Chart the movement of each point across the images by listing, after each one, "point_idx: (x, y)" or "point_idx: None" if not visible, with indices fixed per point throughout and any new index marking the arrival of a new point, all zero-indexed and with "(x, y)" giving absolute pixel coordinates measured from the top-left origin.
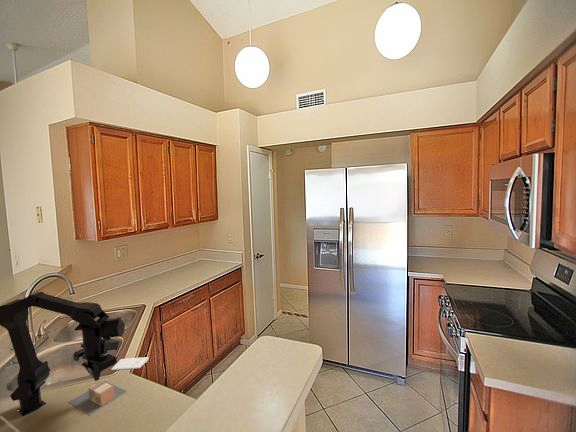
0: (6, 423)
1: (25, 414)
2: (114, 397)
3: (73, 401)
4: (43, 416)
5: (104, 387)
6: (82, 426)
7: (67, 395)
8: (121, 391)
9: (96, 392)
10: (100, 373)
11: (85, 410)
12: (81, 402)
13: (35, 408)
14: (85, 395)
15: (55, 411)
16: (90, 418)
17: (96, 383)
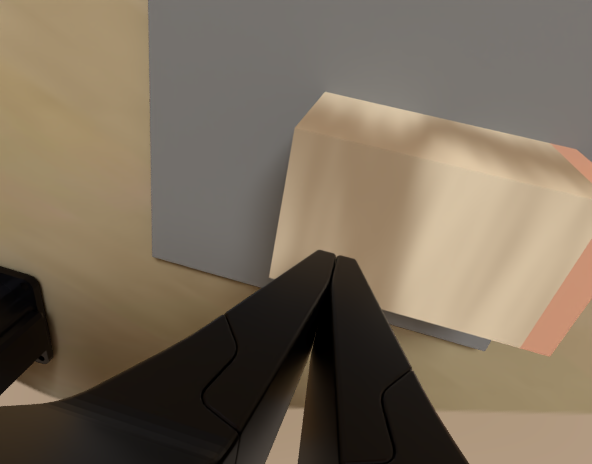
0: (35, 386)
1: (44, 357)
2: (576, 152)
3: (185, 246)
4: (146, 348)
5: (498, 251)
6: (504, 406)
7: (44, 178)
8: (589, 24)
9: (454, 325)
10: (387, 323)
11: (395, 314)
12: (264, 247)
13: (42, 338)
14: (201, 170)
15: (165, 314)
16: (503, 353)
17: (287, 197)
